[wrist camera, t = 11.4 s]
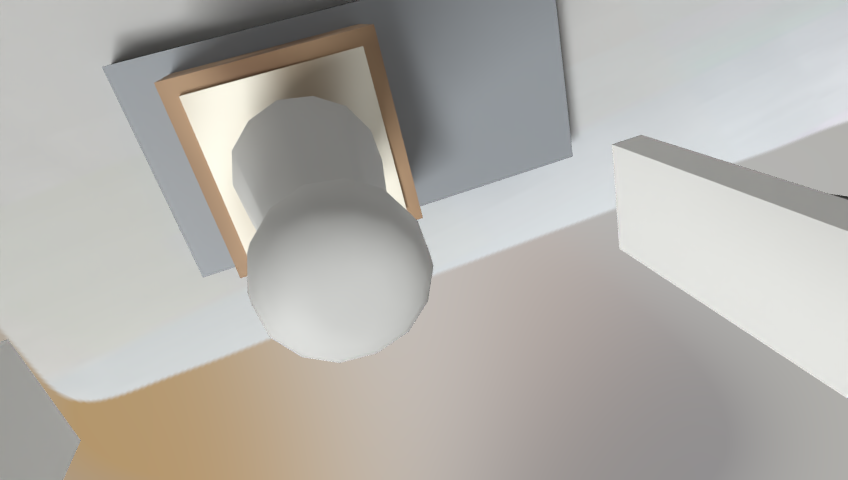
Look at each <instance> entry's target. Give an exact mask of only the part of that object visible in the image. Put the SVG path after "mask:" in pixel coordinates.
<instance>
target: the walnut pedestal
mask: <svg viewBox="0 0 848 480" xmlns="http://www.w3.org/2000/svg"><path fill="white" fill-rule="evenodd" d="M154 84H155V87H156V89H157V91H158V93H159V96H160V98H161V100H162V102H163V105H164V107H165V109H166V111H167V114H168V116H169V118H170V120H171V123H172V125H173V127H174V129H175V132H176V134H177V136H178V138H179V141H180V143H181V145H182V147H183V150H184V152H185V154H186V156H187V159H188V161H189V163H190V165H191V168H192V170H193V172H194V174H195V177H196V179H197V181H198V183H199V186H200V188H201V190H202V193H203V195H204V197H205V199H206V202H207V204H208V206H209V208H210V211H211V213H212V215H213V217H214V220H215V222H216V224H217V226H218V229H219V231H220V233H221V235H222V238H223V240H224V242H225V244H226V247H227V249H228V251H229V253H230V256H231V258H232V260H233V262H234V265H235V267H236V269H237V271H238V274H239V276H240V278H242V277H245V276H247V252H248V248H249V244H250V242H251V240H252V238H253V237H254V235H255V233H256V229H255V227H254V226H253V224H252V222H251V220H250V218H249V216H248V214H247V212H246V210H245V208H244V206H243V204H242V202H241V200H240V198H239V197H238V195H237V193H236V191H235V189H234V187H233V180H232V149H233V147H234V146H235V144H236V142H237V140H238V139H239V137H240V135H241V133H242V131H243V130H244V128H245V126H246V124H247V122H248V121H249V120H250V119H252V118H253V117H254V116H256V115H257V114H258V113H260V112H261V111H263V110H264V109H265V108H267V107H268V106H270V105H271V104H272V103H274V102H275V101H276V100H282V99H290V98H299V97H308V96H315V97H318V98H321V99H325V100H328V101H331V102H334V103H338V104H341V105H344V106H347V107H348V108H349V109H350V110H351V111H352V112H353V113H354V114H355V115H356V116H357V117H358V118H359V119H360V120H361V121H362V122H363V123H364V124H365V125H366V126H367V127H368V128H369V129H370V130H371V132H372V135H373V138H374V140H375V143H376V145H377V148H378V151H379V153H380V156H381V158H382V163H383V170H384V177H385V184H386V190H387V193H389V194H390V195H391V196H392V197H393V198H394V199H395V200H396V201H397V202H398V203H399V204H400V205H402V206H403V207H404V208H405V209H406V210H407V211H408V212H409V213H410V214H411V215H412V216H413V217H414V218H415V219H416V220H417V219H420V218H423V217H422V213H421V209H420V205H419V201H418V197H417V193H416V189H415V185H414V181H413V177H412V173H411V169H410V165H409V161H408V157H407V154H406V150H405V146H404V142H403V138H402V134H401V130H400V126H399V122H398V118H397V114H396V110H395V106H394V102H393V98H392V94H391V90H390V86H389V82H388V78H387V74H386V70H385V66H384V62H383V59H382V55H381V51H380V47H379V43H378V39H377V35H376V31H375V27H374V24H357V25H353V26H349V27H345V28H341V29H338V30H334V31H330V32H326V33H323V34H319V35H315V36H311V37H307V38H304V39H300V40H296V41H292V42H289V43H285V44H281V45H277V46H273V47H270V48H266V49H262V50H258V51H255V52H251V53H247V54H243V55H239V56H236V57H232V58H228V59H224V60H221V61H217V62H213V63H209V64H205V65H202V66H198V67H194V68H190V69H187V70H183V71H179V72H175V73H172V74H169V75H167V76H165V77H163V78H162V79H160V80H158V81H156V82H154Z"/></svg>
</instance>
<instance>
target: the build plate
mask: <svg viewBox="0 0 848 480" xmlns="http://www.w3.org/2000/svg"><path fill="white" fill-rule="evenodd" d="M357 24H374V27H375V31H376V35H377V39H378V43H379V47H380V51H381V55H382V59H383V62H384V66H385V70H386V74H387V78H388V82H389V86H390V90H391V94H392V98H393V102H394V106H395V110H396V114H397V118H398V122H399V126H400V130H401V134H402V138H403V142H404V146H405V150H406V154H407V157H408V161H409V165H410V169H411V173H412V177H413V181H414V185H415V189H416V193H417V197H418V201H419V205H420V206H423V205H426V204H429V203H432V202H435V201H438V200H441V199H444V198H447V197H450V196H453V195H456V194H459V193H462V192H465V191H469V190H472V189H475V188H478V187H481V186H484V185H487V184H490V183H493V182H496V181H499V180H502V179H505V178H508V177H511V176H514V175H517V174H520V173H523V172H527V171H530V170H533V169H536V168H539V167H542V166H545V165H548V164H551V163H554V162H557V161H560V160H563V159H566V158H569V157H572V156H573V154H572V145H571V136H570V127H569V118H568V108H567V99H566V90H565V81H564V72H563V63H562V54H561V44H560V35H559V26H558V17H557V8H556V0H359V1H355V2H351V3H347V4H344V5H340V6H336V7H332V8H328V9H324V10H320V11H316V12H312V13H309V14H305V15H301V16H297V17H293V18H289V19H285V20H281V21H278V22H274V23H270V24H266V25H262V26H258V27H254V28H250V29H246V30H243V31H239V32H235V33H231V34H227V35H223V36H219V37H215V38H212V39H208V40H204V41H200V42H196V43H192V44H188V45H184V46H180V47H177V48H173V49H169V50H165V51H161V52H157V53H153V54H149V55H146V56H142V57H138V58H134V59H130V60H126V61H122V62H118V63H115V64H111V65H107V66H103V67H102V68H103V70H104V72H105V74H106V76H107V78H108V80H109V83H110V85H111V87H112V89H113V91H114V93H115V95H116V97H117V99H118V101H119V103H120V105H121V108H122V110H123V112H124V114H125V116H126V118H127V120H128V122H129V124H130V126H131V128H132V130H133V133H134V135H135V137H136V139H137V141H138V143H139V145H140V147H141V149H142V151H143V153H144V155H145V158H146V160H147V162H148V164H149V166H150V168H151V170H152V172H153V174H154V176H155V178H156V180H157V183H158V185H159V187H160V189H161V191H162V193H163V195H164V197H165V199H166V201H167V203H168V205H169V208H170V210H171V212H172V214H173V216H174V218H175V220H176V222H177V224H178V226H179V228H180V230H181V233H182V235H183V237H184V239H185V241H186V243H187V245H188V247H189V249H190V251H191V253H192V256H193V258H194V260H195V262H196V264H197V266H198V268H199V270H200V272H201V274H202V276H203V277H206V276H209V275H212V274H215V273H218V272H221V271H224V270H227V269H230V268H233V267H235V265H234V262H233V260H232V258H231V256H230V253H229V251H228V249H227V247H226V244H225V242H224V240H223V238H222V235H221V233H220V231H219V229H218V226H217V224H216V222H215V220H214V217H213V215H212V213H211V211H210V208H209V206H208V204H207V202H206V199H205V197H204V195H203V193H202V190H201V188H200V186H199V183H198V181H197V179H196V177H195V174H194V172H193V170H192V168H191V165H190V163H189V161H188V159H187V156H186V154H185V152H184V150H183V147H182V145H181V143H180V141H179V138H178V136H177V134H176V132H175V129H174V127H173V125H172V123H171V120H170V118H169V116H168V114H167V111H166V109H165V107H164V105H163V102H162V100H161V98H160V96H159V93H158V91H157V89H156V87H155V84H154V82H156V81H158V80H160V79H162V78H163V77H165V76H167V75H169V74H172V73H175V72H179V71H183V70H187V69H190V68H194V67H198V66H202V65H205V64H209V63H213V62H217V61H221V60H224V59H228V58H232V57H236V56H239V55H243V54H247V53H251V52H255V51H258V50H262V49H266V48H270V47H273V46H277V45H281V44H285V43H289V42H292V41H296V40H300V39H304V38H307V37H311V36H315V35H319V34H323V33H326V32H330V31H334V30H338V29H341V28H345V27H349V26H353V25H357Z"/></svg>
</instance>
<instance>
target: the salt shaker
mask: <svg viewBox="0 0 848 480" xmlns="http://www.w3.org/2000/svg"><path fill="white" fill-rule="evenodd" d="M232 180H233V187H234V189H235V191H236V193H237V195H238V197H239V198H240V200H241V202H242V204H243V206H244V208H245V210H246V212H247V214H248V216H249V218H250V220H251V222H252V224H253V226H254V227H255V229H256V233H255V235H254V237H253V238H252V240H251V242H250V244H249V248H248V252H247V289H248V295H249V298H250V301H251V303H252V306H253V308H254V309H255V311H256V313H257V315H258V317H259V318H260V320H261V322H262V324H263V326H264V327H265V329H266V331H267V333H268V335H269V337H270V338H272V339H273V340H275V341H277V342H279V343H280V344H282V345H283V346H285V347H286V348H288V349H290V350H291V351H293V352H295V353H296V354H298V355H299V356H301V357H305V358H312V359H318V360H325V361H332V362H338V363H341V362H345V361H348V360H352V359H356V358H360V357H364V356H368V355H372V354H375V353H378V352H379V351H381V350H383V349H384V348H385V347H387V346H388V345H390V344H391V343H393V342H394V341H396V340H397V339H399V338H400V337H402V336H403V335H405V334H406V333H407V332H409V330H410V329H411V327H412V325H413V324H414V322H415V321H416V319H417V318H418V316H419V314H420V313H421V311H422V310H423V308H424V306H425V305H426V303H427V302H428V297H429V291H430V284H431V278H432V271H433V263H432V260H431V256H430V253H429V250H428V248H427V245H426V242H425V240H424V237H423V234H422V232H421V229H420V226H419V224H418V221H417V220H416V219H415V218H414V217H413V216H412V215H411V214H410V213H409V212H408V211H407V210H406V209H405V208H404V207H403V206H402V205H400V204H399V203H398V202H397V201H396V200H395V199H394V198H393V197H392V196H391V195H390V194H389V193H387V190H386V184H385V177H384V170H383V163H382V158H381V156H380V153H379V151H378V148H377V145H376V143H375V140H374V138H373V135H372V132H371V130H370V129H369V128H368V127H367V126H366V125H365V124H364V123H363V122H362V121H361V120H360V119H359V118H358V117H357V116H356V115H355V114H354V113H353V112H352V111H351V110H350V109H349V108H348V107H347V106H344V105H341V104H338V103H334V102H331V101H328V100H325V99H321V98H318V97H315V96H308V97H299V98H290V99H282V100H276V101H275V102H274V103H272V104H271V105H270V106H268V107H267V108H265V109H264V110H263V111H261V112H260V113H258V114H257V115H256V116H254V117H253V118H252V119H250V120H249V121H248V122H247V124H246V126H245V128H244V130H243V131H242V133H241V135H240V137H239V139H238V140H237V142H236V144H235V146H234V147H233V149H232Z"/></svg>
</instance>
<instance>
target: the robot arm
mask: <svg viewBox="0 0 848 480" xmlns="http://www.w3.org/2000/svg"><path fill="white" fill-rule="evenodd" d="M612 151H613V165H614V179H615V193H616V207H617V220H618V235H619V248H620V249H621V250H622V251H624V252H625V253H627V254H629V255H630V256H631V257H633V258H635V259H636V260H638V261H639V262H641V263H642V264H644V265H645V266H647V267H648V268H650V269H651V270H653V271H654V272H656V273H657V274H659V275H661V276H662V277H663V278H665V279H666V280H668V281H669V282H671V283H673V284H674V285H676V286H677V287H679V288H680V289H682V290H683V291H685V292H686V293H688V294H689V295H691V296H692V297H694V298H696V299H697V300H698V301H700V302H702V303H703V304H704V305H706V306H708V307H709V308H711V309H712V310H714V311H715V312H717V313H718V314H720V315H721V316H723V317H724V318H726V319H727V320H729V321H730V322H732V323H733V324H735V325H737V326H738V327H739V328H741V329H743V330H744V331H746V332H747V333H749V334H750V335H752V336H753V337H755V338H756V339H758V340H759V341H761V342H762V343H764V344H765V345H767V346H768V347H770V348H771V349H773V350H774V351H776V352H778V353H779V354H781V355H782V356H784V357H785V358H787V359H788V360H790V361H791V362H793V363H794V364H796V365H797V366H799V367H800V368H802V369H803V370H805V371H806V372H808V373H809V374H811V375H812V376H814V377H816V378H817V379H819V380H820V381H822V382H823V383H825V384H826V385H828V386H829V387H831V388H832V389H834V390H835V391H837V392H838V393H840V394H841V395H843V396H844V397H846V398H847V399H848V197H847V196H840V195H833V194H828V193H825V192H821V191H818V190H815V189H812V188H809V187H805V186H802V185H799V184H796V183H793V182H789V181H786V180H783V179H780V178H777V177H773V176H771V175H767V174H764V173H761V172H758V171H755V170H751V169H748V168H745V167H742V166H739V165H735V164H732V163H729V162H726V161H723V160H720V159H716V158H713V157H710V156H707V155H704V154H701V153H697V152H694V151H691V150H688V149H685V148H681V147H678V146H675V145H672V144H669V143H666V142H662V141H659V140H656V139H653V138H650V137H646V136H643V135H640V136H636V137H633V138H630V139H627V140H624V141H621V142H618V143H615V144H612ZM80 441H81V440H80V439H79V438H78V436H77V435H76V433H75V432H74V431H73V429H72V428H71V426H70V425H69V424H68V422H67V421H66V419H65V418H64V417H63V415H62V414H61V412H60V411H59V410H58V408H57V407H56V406H55V404H54V403H53V401H52V400H51V398H50V397H49V396H48V394H47V393H46V392H45V390H44V389H43V387H42V386H41V385H40V383H39V382H38V380H37V379H36V378H35V376H34V375H33V373H32V372H31V371H30V369H29V368H28V366H27V365H26V364H25V362H24V361H23V359H22V358H21V357H20V355H19V354H18V352H17V351H16V350H15V348H14V347H13V345H12V344H11V343H10V341H9V340H8V339H7V340H4V341H1V342H0V480H63V479H64V477H65V474H66V472H67V470H68V468H69V465H70V463H71V461H72V459H73V456H74V454H75V452H76V450H77V447H78V445H79V443H80Z"/></svg>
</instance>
